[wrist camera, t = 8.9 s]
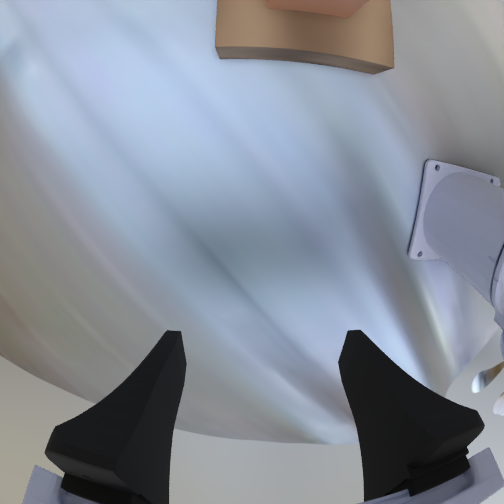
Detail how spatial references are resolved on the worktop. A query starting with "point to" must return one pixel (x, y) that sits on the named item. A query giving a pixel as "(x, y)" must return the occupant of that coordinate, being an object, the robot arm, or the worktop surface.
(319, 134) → the worktop surface
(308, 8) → the terracotta cube
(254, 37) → the walnut block
